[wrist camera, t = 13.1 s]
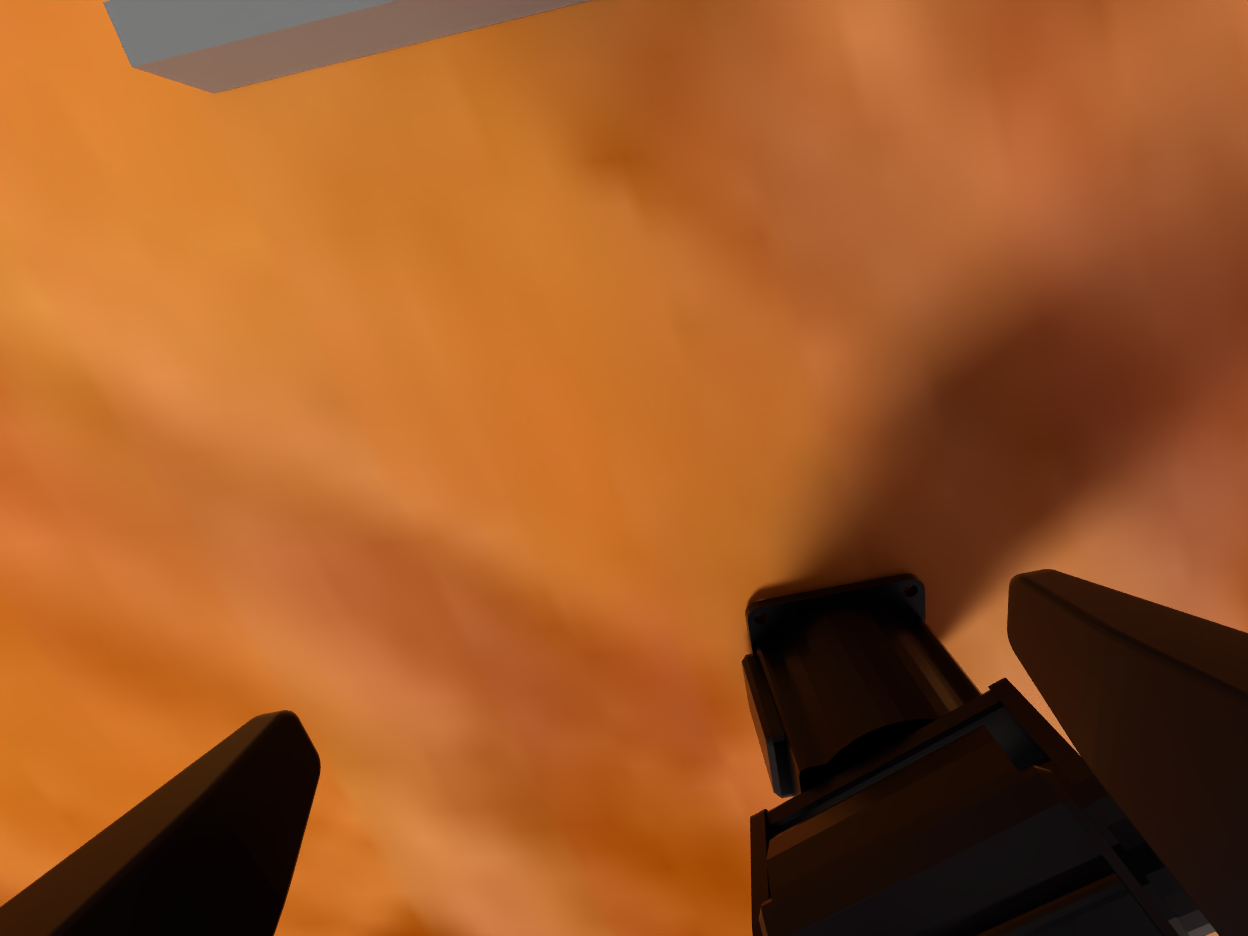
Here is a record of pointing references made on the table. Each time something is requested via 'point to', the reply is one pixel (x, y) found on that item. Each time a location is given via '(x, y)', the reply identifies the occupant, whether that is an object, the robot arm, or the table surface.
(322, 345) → the table surface
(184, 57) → the corner wall
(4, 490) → the table surface
